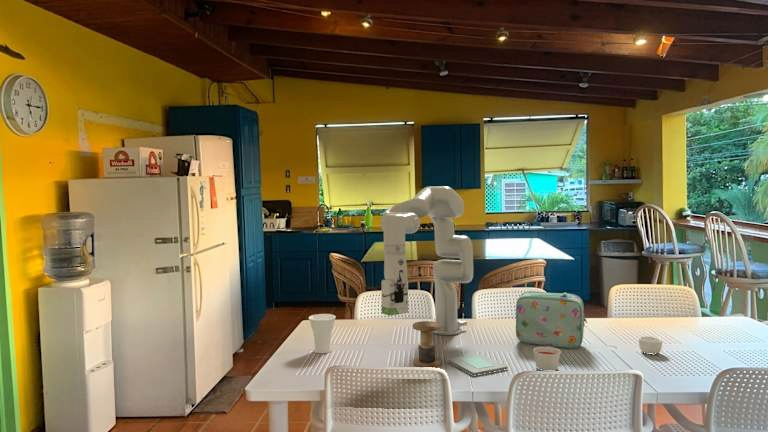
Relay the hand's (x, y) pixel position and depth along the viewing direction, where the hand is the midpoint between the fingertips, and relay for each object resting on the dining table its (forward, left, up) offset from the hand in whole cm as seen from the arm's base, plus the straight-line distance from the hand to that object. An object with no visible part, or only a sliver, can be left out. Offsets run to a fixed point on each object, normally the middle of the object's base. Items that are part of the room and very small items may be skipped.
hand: (395, 300), depth 186 cm
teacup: (-92, +29, -24) cm, 99 cm away
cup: (+17, -30, -24) cm, 42 cm away
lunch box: (-67, +4, -24) cm, 71 cm away
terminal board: (-26, +12, -24) cm, 37 cm away
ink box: (0, 0, -5) cm, 5 cm away
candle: (-46, +25, -24) cm, 58 cm away
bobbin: (-12, +1, -24) cm, 27 cm away
